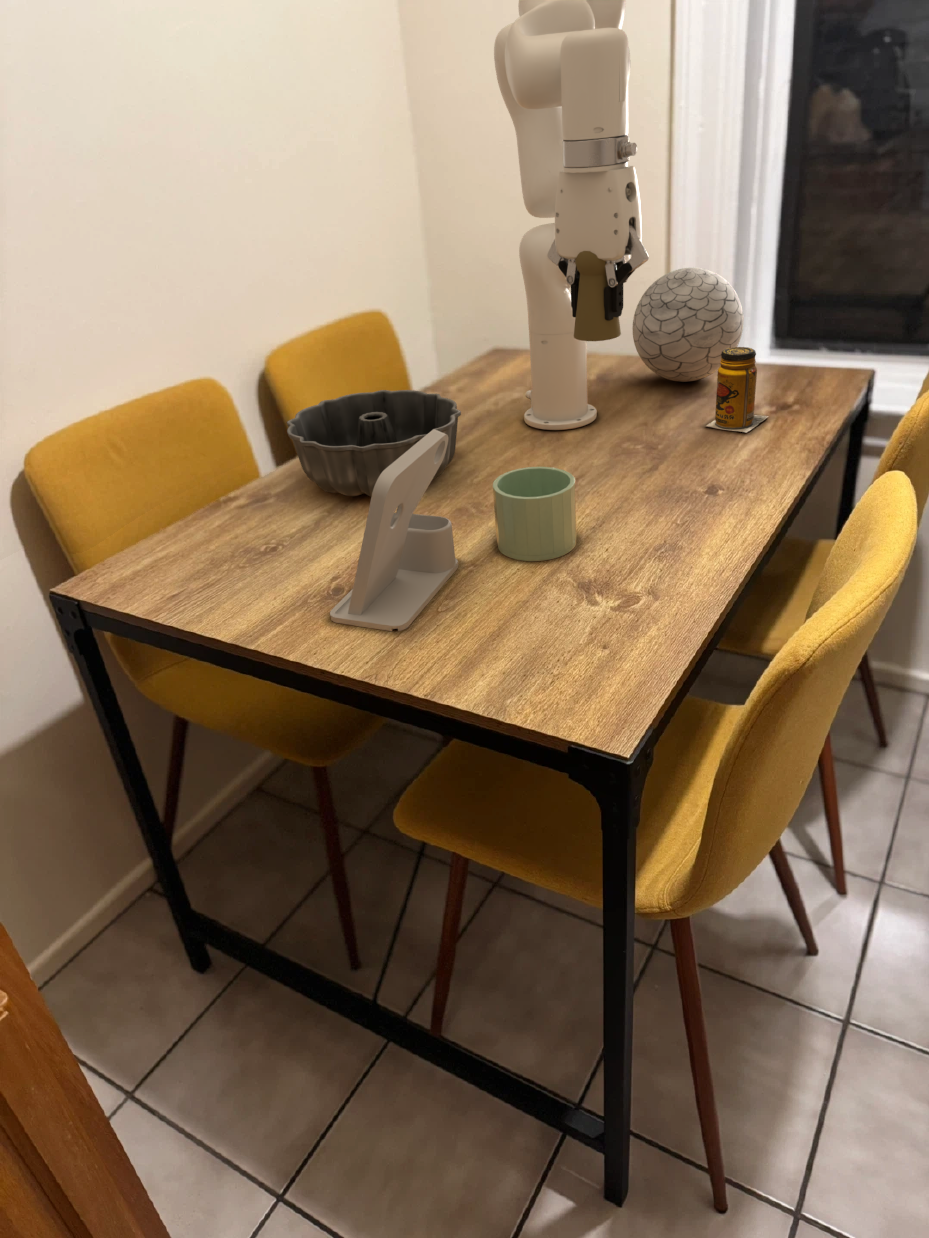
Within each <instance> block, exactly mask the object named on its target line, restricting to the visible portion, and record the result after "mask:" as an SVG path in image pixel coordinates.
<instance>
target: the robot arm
mask: <svg viewBox="0 0 929 1238" xmlns="http://www.w3.org/2000/svg"><path fill="white" fill-rule="evenodd" d="M626 2H627V1H626V0H518V15H519V17H518V18H516V20H514V21H513V22H512V23H510V24H507V25H505V26H504V27H502V28H501V29H500V31H498V33H497V35H496V37H495V40H494V44H493V59H494V60H493V61H494V68H495V74H496V81H497V84H498V88H499V90H500V94H501V97H502V100H503V102H504V104H505V106H506V109H507V112H508V114H509V116H510V119H511V122H512V124H513V127H514V130H515V136H516V145H517V154H518V156H517V157H518V165H519V175H520V184H521V185H520V186H521V193H522V198H523V203H524V207H525V209H526V211H527V213H528V214H529V215H530V216H532V217H535V218H538V219H551V218H554V222H550V223H544V224H540V225H537V226H534V227H532V228H529V230H527V231H526V232H525V233H524V235H523V236H521V240H520V243H519V246H518V247H519V248H518V249H519V250H518V251H519V252H518V253H519V255H518V256H519V263H520V269H521V273H522V279H523V284H524V290H525V297H526V306H527V323H528V337H529V338H528V339H529V359H530V360H529V361H530V378H531V379H530V380H531V390H526V392H525V398H527V399H529V400H530V404H531V405H530V406H531V407H529V408H528V409H527V410H526V411H525V412H524V414H523V419H524V420H523V421H524V423H525V424H527V426H530V427H531V428H534V429H540V430H546V431H565V430H571V429H577V428H581V427H584V426H586V425H589V424H591V423H593V422H594V421H595V420H596V419H597V417H598V416H597V413H598V411H597V408H596V407H595V406H594V405H592V404H589V403H588V363H587V362H588V361H587V360H588V355H587V354H588V348H587V347H588V346H587V343H588V341H581V340H577V339H575V338H574V328H575V318H576V310H577V300H578V289H579V279H580V273H579V271H578V270H577V267H576V264H575V258H576V257H577V255H578V254H579V253H580V252H582V251H591V252H592V253H594V254H596V255H597V257H598V258H599V259H602V260H604V261H606V262H605V264H606V265H605V269H606V275H607V281H608V286H607V287H605V288H604V310H605V320H609V321H610V320H612V319H613V318H614V317H619V318H620V317H621V316H622V314H623V309H624V284H625V283H627V282H628V279H629V278H630V277H631V275H632V274H634V272H635V271H636V270H637V269H639V268H640V267H642V265H644V264H645V263H646V262H648V260H649V259H650V258H649V257H650V256H649V254H648V251H647V250H646V248H645V246H644V244H643V240H642V239H643V232H642V231H643V228H642V225H643V224H642V208H641V197H640V189H639V183H638V176H637V173H636V168H635V165H629V161H630V157H631V156H633V157H634V156H636V154H637V153H638V146H637V143H636V142H630V136H629V135H628V134H629V80H630V76H631V52H630V51H631V50H630V46H629V38H628V36H627V33H626V32H625V31H624V30H623V29H622V28H623V25H624V20H625V16H626V4H627V3H626ZM615 263H616V264H615Z"/></svg>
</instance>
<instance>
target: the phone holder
mask: <svg viewBox="0 0 929 1238" xmlns="http://www.w3.org/2000/svg"><path fill="white" fill-rule="evenodd" d="M447 445H448V435H447V434H444V433H442V432H440V431H437V430H435V429H434V430H432V431H431V432H429V433H428V434H427V435H426V436H425V437H423V438H422V439H421V440H420V441H419V442H417V443H416V444H415V445H414V446H412V447H411V448H410V449H409V450H408V451H406V452H405V453H404V454H403V455H402V456H400V457H399V458H398V459H397V460H396V461H394V462H393V463H392V464H391V465H390V466H388V467H387V468H386V469H385V470H384V471H383V472H382V473H381V474H380V476H379V478H378V480H377V482H376V484H375V486H374V489H373V492H372V497H370V503H369V506H368V507H369V508H368V513H367V518H366V522H365V527H364V531H363V536H362V542H361V546H360V552H359V557H358V561H357V567H356V571H355V577H354V582H353V586H352V589H351V590H350V591H349V592H348V593H347V594H346V595H345V596H344V597H342V599H340V601H339V602H338V603H337V604H335V606H334V607H333V608H332V609H331V610H330V611H329V616H330V620H331V621H332V622H333V623H335V624H342V625H349V626H354V627H355V626H356V627H361V628H369V629H375V630H381V631H388V632H392V631H394V630H395V629H396V630H397V632H402V631H404V630H407V629H408V628H409V627H410V626H411V625H412V624H413V622H414V621H415V619H416V618H418V616H419V615H420V614H421V613H422V611H423V610H424V609H425V608H426V606H427V605H428V604H429V603H430V602H431V601H432V600H433V598H434V597H435V596H436V595H437V594H438V592H439V591H440V590H441V589H442V587H444V585H445V584H446V583H447V582H448V580H449V579H450V578H451V577H452V576H453V574H454V573H455V572H456V571H457V570H458V569H459V560H458V558H456V553H455V551H456V550H455V542H454V532H453V524H452V521H451V519H449V518H447V517H445V516H440V515H427V514H418V513H415V511H416V509H417V507H418V505H419V504H420V502H421V500H422V499H423V498H424V497H423V496H424V495H425V493H426V492H427V490H428V488H429V486H430V485H431V483H432V481H433V480H434V479H433V477H434V476H435V474H436V472H437V470H438V468H439V467H440V465H441V463H442V461H443V459H444V456H445V453H446V449H447Z"/></svg>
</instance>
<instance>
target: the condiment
mask: <svg viewBox="0 0 929 1238" xmlns="http://www.w3.org/2000/svg"><path fill="white" fill-rule="evenodd" d="M756 355H757V352H756V350H755V349H753V348H752V347H747V346H746V347H745V346H737V347H732V348H727V349H725V350H723V351H722V353H721V361H720V364H721V366H720V368H719V369H718V370H717V375H716V376H717V378H716V392H715V395H716V396H715V397H716V399H715V400H716V401H715V416H714V420H712V421H711V422H709V423H708V424H707V425H705V427H707V428H713V429H718V430H723V431H730V432H740V433H741V432H742V433H749V432H750V431H751V430H753V429H755V428H756V427H757V426H758V425H760V424H761V423H763V422H764V421H765V420H766V419H767V418H769V417H770V416H769V415H759V414H755V403H756V390H757V389H756V388H757V380H758V379H757V377H758V368H757V366H756V362H757V361H756Z"/></svg>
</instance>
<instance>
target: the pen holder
mask: <svg viewBox="0 0 929 1238" xmlns="http://www.w3.org/2000/svg"><path fill="white" fill-rule="evenodd" d="M492 497H493V509H494V510H493V511H494V524H495V536H496V537H495V538H496V543H497V549H498V551H499V552H500V553H501V554H502V555H504V556H506V557H507V558H509V559H513V560H517V561H523V562H543V561H549V560H553V559H554V560H555V559H558V558H560V557H563V556H565V555H567V554H569V553H570V552H571V551H573V550H574V548H575V547H576V545H577V506H576V504H577V503H576V502H577V501H576V477H574V475H573V474H572V473H571V472H569V471H567V470H565V469H562V468H558V467H553V466H528V467H521V468H516V469H513V470H509V471H506V472H504V473H502V474H500V475H498V476H497V477H496V478H495V479H494V480H493V482H492Z"/></svg>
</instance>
